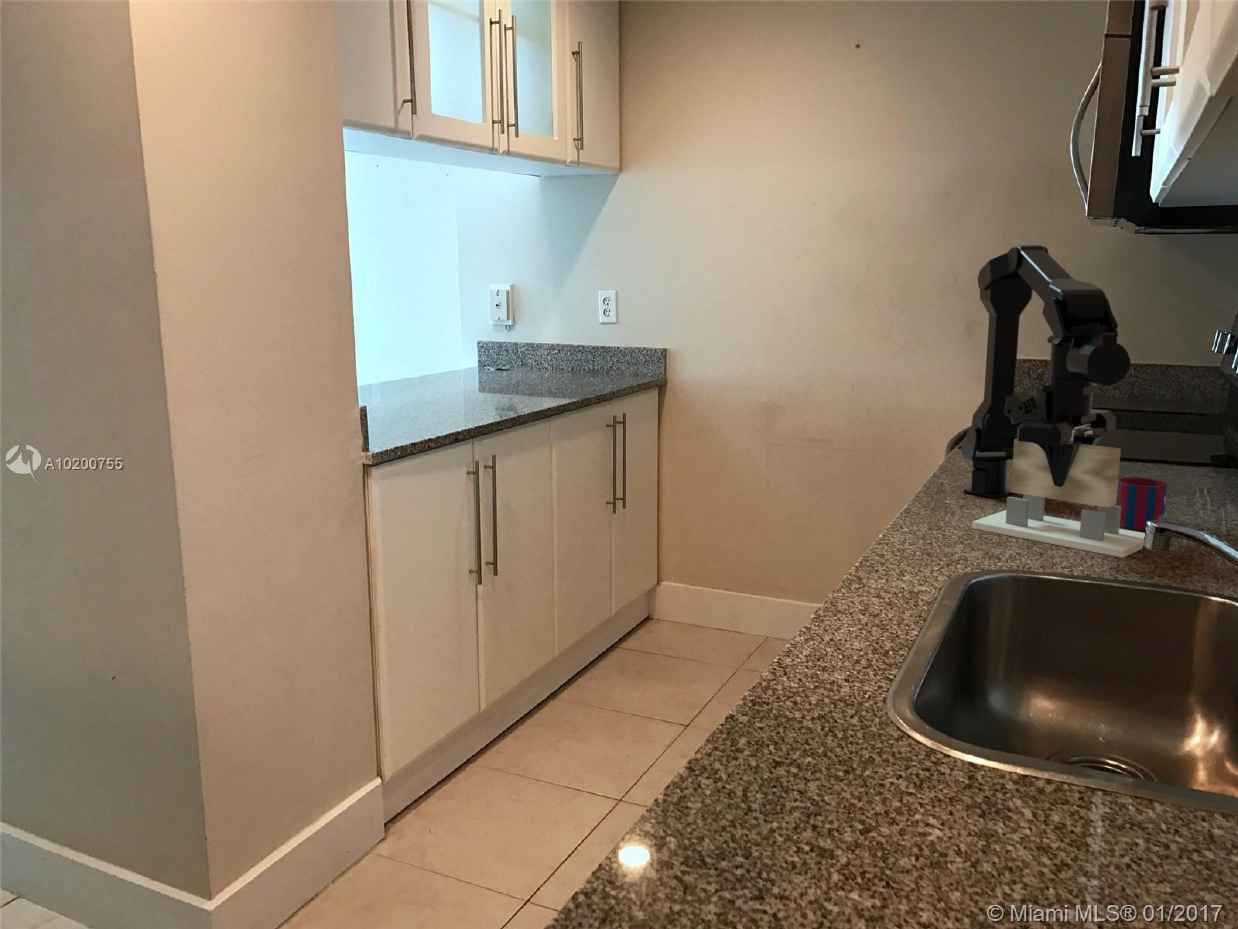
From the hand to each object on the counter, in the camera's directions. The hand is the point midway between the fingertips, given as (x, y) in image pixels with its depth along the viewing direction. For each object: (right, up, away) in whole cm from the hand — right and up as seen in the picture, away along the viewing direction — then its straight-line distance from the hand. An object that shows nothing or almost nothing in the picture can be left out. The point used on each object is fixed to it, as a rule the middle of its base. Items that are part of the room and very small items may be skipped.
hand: (1063, 484), depth 140 cm
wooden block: (0, -2, 0) cm, 2 cm away
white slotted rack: (0, -7, +1) cm, 8 cm away
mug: (+13, -6, +7) cm, 16 cm away
